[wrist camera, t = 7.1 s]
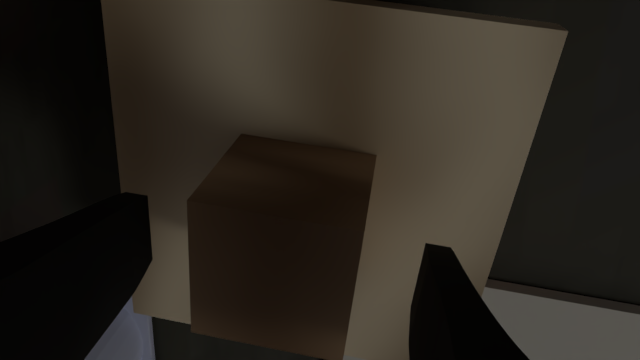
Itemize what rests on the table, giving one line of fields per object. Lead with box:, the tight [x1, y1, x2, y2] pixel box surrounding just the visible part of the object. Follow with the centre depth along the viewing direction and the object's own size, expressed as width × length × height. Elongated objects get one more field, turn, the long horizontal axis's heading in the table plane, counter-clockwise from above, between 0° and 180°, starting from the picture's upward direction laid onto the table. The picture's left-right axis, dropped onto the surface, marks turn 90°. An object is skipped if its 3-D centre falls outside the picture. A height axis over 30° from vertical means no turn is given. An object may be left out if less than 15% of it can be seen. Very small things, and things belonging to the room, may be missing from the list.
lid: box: [101, 0, 568, 360], centre depth 14 cm, size 12×12×5 cm
